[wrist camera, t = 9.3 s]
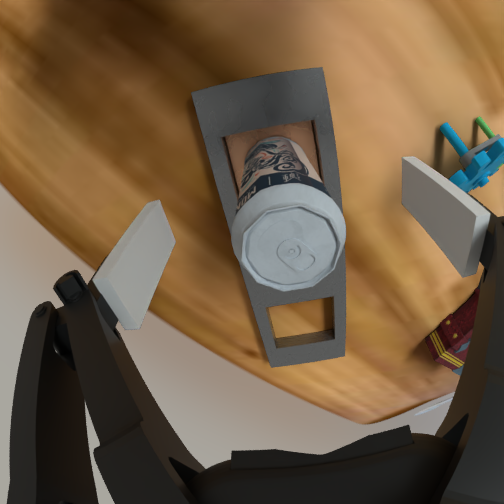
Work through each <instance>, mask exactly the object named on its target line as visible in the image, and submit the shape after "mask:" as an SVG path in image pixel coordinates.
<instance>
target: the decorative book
mask: <svg viewBox="0 0 504 504" xmlns="http://www.w3.org/2000/svg"><path fill="white" fill-rule="evenodd" d="M477 288H478V287H477ZM477 288H476V289H475V292H476V293H475V294H474V295H473V296H472V297H471V298H470V299H469V300H468V301H467V302H466V303H465V304H464V305H463V306H462V307H460V308H459V309H458V310H457V311H456V312H455V313H454V314H453V315H452V314H450V315H448V316H447V317H446V318H445V319H444V320H443V321H442V322H441V323H440V325H441V326H440V327H439V328H437V329H436V330H435V331H434V332H433V333H432V334H430V335H429V336H428V337H427V338H426V339H425V341H426V343H427V345H428V347H429V349H430V352H431V354H432V356H433V359H434V361H436V362H438V363H440V364H442V365H444V366H446V367H448V368H450V369H452V371H453V372H454V373H456V374H458V375H460V376H461V373H462V370H463V366H464V363H465V359H466V356H467V352H468V348H469V344H470V340H471V336H472V331H473V327H474V322H475V317H476V312H477V306H478V300H479V293H480V289H479V290H478V289H477Z"/></svg>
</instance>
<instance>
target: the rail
mask: <svg viewBox="0 0 504 504" xmlns="http://www.w3.org/2000/svg"><path fill="white" fill-rule="evenodd" d="M191 94H192V98H193V102H194V105H195V109H196V113H197V117H198V120H199V124H200V128H201V131H202V135H203V138H204V142H205V146H206V149H207V153H208V156H209V160H210V164H211V167H212V171H213V174H214V178H215V181H216V185H217V188H218V192H219V195H220V199H221V202H222V206H223V209H224V213H225V216H226V220H227V223H228V227H229V230H230V234H231V235H232V226H233V222H234V219H235V215H236V209H237V204H238V198H239V193H238V189H239V192H240V187H241V182H242V176H243V171H244V162H245V158H246V155H247V153H248V152H249V151H250V149H251V148H252V147H253V146H254V145H255V144H256V143H257V142H259V141H261V140H263V139H265V138H269V137H284V138H287V139H290V140H292V141H294V142H295V143H297V144H298V145H299V146H300V147H301V148H302V149H303V151H304V153H305V154H306V157H307V158H308V160H309V162H310V163H311V165H312V166H313V168H314V169H315V171H316V173H317V174H318V176H319V169H320V176H319V178H320V177H321V181H322V183H323V184H324V186H325V188H326V189H327V191H328V193H329V194H330V196H331V198H332V199H333V201H334V202H335V203H336V205H337V206H338V207H339V209H340V211H341V213H342V215H343V210H342V198H341V187H340V177H339V168H338V159H337V151H336V144H335V136H334V130H333V123H332V116H331V110H330V104H329V99H328V93H327V88H326V82H325V77H324V72H323V68H322V67H319V68H310V69H301V70H294V71H286V72H280V73H274V74H268V75H262V76H257V77H252V78H247V79H242V80H238V81H233V82H229V83H225V84H221V85H217V86H213V87H209V88H205V89H202V90H198V91H195V92H191ZM311 120H312V124H313V130H314V136H315V142H314V136H313V130H312V124H311ZM224 136H225V138H226V142H227V146H228V150H229V154H230V158H231V162H232V166H233V169H232V166H231V162H230V158H229V154H228V150H227V146H226V142H225V138H224ZM315 143H316V148H315ZM316 149H317V155H316ZM317 156H318V162H319V169H318V162H317ZM233 170H234V173H233ZM234 174H235V177H234ZM235 178H236V181H237V185H238V189H237V185H236V181H235ZM239 264H240V262H239ZM240 268H241V271H242V274H243V278H244V281H245V284H246V288H247V291H248V294H249V298H250V301H251V304H252V307H253V311H254V314H255V317H256V321H257V324H258V327H259V330H260V334H261V337H262V340H263V343H264V347H265V350H266V353H267V356H268V359H269V363H270V366H271V368H272V367H281V366H288V365H295V364H302V363H309V362H315V361H321V360H327V359H332V358H338V357H343V356H345V338H346V267H345V243H344V246H343V249H342V252H341V254H340V256H339V258H338V261H337V263H336V266H335V269H334V270H333V271H332V272H331V273H329V274H328V275H327V276H326V277H324V278H323V279H322V280H321V281H319V282H318V283H317V284H315V285H314V286H313V287H309V288H303V289H297V290H291V291H285V292H283V291H280V290H277V289H274V288H271V287H269V286H266V285H263V284H260V283H257V282H256V280H255V279H254V278H253V276H252V275H251V274H250V273H249V272H248V271H247V270H246V269H245V268H244V267H243V266H242V265H241V264H240ZM326 297H332V321H333V329H332V330H327V331H321V332H315V333H309V334H303V335H297V336H290V337H283V338H276V337H275V334H274V330H273V326H272V322H271V318H270V314H269V310H268V307H271V306H278V305H284V304H291V303H297V302H303V301H309V300H315V299H320V298H326Z"/></svg>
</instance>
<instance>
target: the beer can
mask: <svg viewBox="0 0 504 504" xmlns="http://www.w3.org/2000/svg"><path fill="white" fill-rule="evenodd" d="M345 239H346V225H345V220H344V217H343V215H342V213H341V211H340V209H339V207H338V206H337V205H336V203H335V202H334V201H333V199H332V198H331V196H330V194H329V193H328V191H327V189H326V188H325V186H324V184H323V183H322V181H321V179H320V178H319V176H318V174H317V173H316V171H315V169H314V168H313V166H312V165H311V163H310V162H309V160H308V158H307V157H306V154H305V153H304V151H303V149H302V148H301V147H300V146H299V145H298V144H297V143H295V142H294V141H292V140H290V139H287V138H284V137H269V138H265V139H263V140H261V141H259V142H257V143H256V144H255V145H254V146H253V147H252V148H251V149H250V151H249V152H248V153H247V155H246V158H245V162H244V171H243V176H242V182H241V187H240V192H239V198H238V204H237V209H236V215H235V219H234V222H233V226H232V235H231V242H232V246H233V250H234V253H235V255H236V257H237V259H238V261H239V262H240V264H241V265H242V266H243V267H244V268H245V269H246V270H247V271H248V272H249V273H250V274H251V275H252V276H253V278H254V279H255V280H256V282H257V283H260V284H263V285H266V286H269V287H271V288H274V289H277V290H280V291H283V292H285V291H291V290H297V289H303V288H309V287H313V286H314V285H315V284H317V283H318V282H319V281H321V280H322V279H323V278H324V277H326V276H327V275H328V274H329V273H331V272H332V271H333V270H334V269H335V266H336V263H337V261H338V258H339V256H340V254H341V252H342V249H343V246H344V243H345Z"/></svg>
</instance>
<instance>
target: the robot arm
mask: <svg viewBox="0 0 504 504" xmlns="http://www.w3.org/2000/svg"><path fill="white" fill-rule="evenodd" d="M402 204H403V206H404V207H405V208H406V209H407V210H408V211H409V212H410V213H411V214H412V215H413V217H414V218H415V219H416V220H417V221H418V222H419V223H420V225H421V226H422V227H423V228H424V229H425V230H426V232H427V233H428V234H429V235H430V236H431V238H432V239H433V240H434V241H435V242H436V244H437V245H438V246H439V247H440V249H441V250H442V251H443V252H444V254H445V255H446V256H447V258H448V259H449V260H450V261H451V263H452V264H453V265H454V267H455V268H456V269H457V271H458V272H459V274H460V275H461V276H462V278H463V277H467V276H470V275H474V274H476V272H477V268H478V265H479V261H480V262H481V264H482V265H483V266H484V270H483V273H482V276H481V279H480V282H479V285H478V288H477V289H478V290H479V289H480V293H479V300H478V306H477V312H476V317H475V322H474V327H473V331H472V336H471V340H470V344H469V348H468V352H467V356H466V359H465V363H464V366H463V370H462V373H461V376H460V379H459V382H458V385H457V388H456V391H455V394H454V397H453V400H452V402H451V405H450V408H449V410H448V413H447V415H446V417H445V419H444V421H443V422H442V424H441V426H440V427H439V429H438V431H437V432H436V434H435V436H434V435H429V434H420V433H411V431H410V427H409V425H406V426H403V427H399V428H396V429H393V430H388V431H385V432H381V433H377V434H373V435H368V436H366V437H364V438H362V439H360V440H358V441H355V442H353V443H351V444H349V445H346V446H344V447H342V448H340V449H337V450H335V451H332V452H329V453H327V454H323V455H316V454H306V453H298V452H290V451H283V450H276V449H271V450H248V451H247V450H246V451H232V453H231V460H227V461H224V462H221V463H218V464H216V465H214V466H211V467H209V468H208V469H205V468H204V467H203V466H202V465H201V464H200V463H199V462H198V461H197V460H196V459H195V458H194V457H193V456H192V455H191V454H190V452H189V451H188V450H187V448H186V447H185V446H184V444H183V443H182V441H181V440H180V438H179V437H178V435H177V434H176V433H175V431H174V429H173V428H172V426H171V425H170V423H169V422H168V420H167V419H166V417H165V416H164V414H163V413H162V411H161V409H160V408H159V406H158V404H157V403H156V401H155V399H154V398H153V396H152V394H151V392H150V391H149V389H148V387H147V385H146V384H145V382H144V380H143V379H142V376H141V375H140V373H139V371H138V369H137V367H136V365H135V363H134V361H133V360H132V358H131V356H130V354H129V352H128V350H127V348H126V346H125V343H124V341H123V339H122V337H121V335H120V333H119V332H118V330H117V329H116V324H117V322H118V320H119V322H120V323H121V325H122V326H123V328H124V329H125V330H133V329H134V330H135V329H140V327H141V325H142V322H143V320H144V317H145V314H146V312H147V309H148V307H149V304H150V302H151V299H152V297H153V294H154V292H155V289H156V287H157V285H158V282H159V280H160V277H161V275H162V273H163V270H164V268H165V266H166V263H167V261H168V259H169V257H170V254H171V252H172V250H173V248H174V245H175V243H176V241H175V238H174V236H173V233H172V231H171V228H170V226H169V223H168V221H167V218H166V215H165V213H164V210H163V208H162V205H161V202H160V200H156V201H152V202H148V203H147V204H146V205H145V206H144V208H143V209H142V210H141V212H140V213H139V214H138V216H137V217H136V218H135V219H134V221H133V222H132V223H131V225H130V226H129V227H128V229H127V230H126V231H125V233H124V234H123V236H122V237H121V238H120V240H119V241H118V243H117V244H116V245H115V247H114V248H113V250H112V251H111V252H110V254H109V255H108V256H107V257H106V258H105V259H104V260H103V262H102V263H101V266H99V268H98V269H97V272H95V274H94V275H93V277H92V278H91V280H90V281H89V283H88V285H87V284H86V283H85V281H84V280H83V278H82V276H81V275H80V273H79V272H78V271H77V270H73V271H70V272H68V273H66V274H64V275H63V276H62V277H60V278H59V279H58V281H57V282H56V283H55V285H54V288H53V289H54V291H55V292H56V294H57V295H58V297H59V298H60V300H61V301H62V302H63V304H64V306H62V307H60V308H57V309H55V307H54V306H53V304H52V303H51V302H50V301H47V302H44V303H42V304H39V305H38V307H36V308H35V310H34V311H33V313H32V315H31V318H30V321H29V325H28V328H27V332H26V336H25V340H24V344H23V349H22V353H21V358H20V362H19V367H18V373H17V378H16V384H15V391H14V399H13V406H12V416H11V429H10V484H9V491H8V499H7V504H99V503H98V498H97V492H96V487H95V482H94V477H93V471H92V465H91V459H90V452H89V445H88V437H87V427H86V415H85V402H86V405H87V408H88V411H89V414H90V417H91V420H92V423H93V426H94V428H95V431H96V434H97V436H98V439H99V442H100V446H99V447H96V448H95V449H94V452H93V454H94V458H95V461H96V464H97V466H98V469H99V471H100V473H101V475H102V478H103V480H104V482H105V484H106V486H107V489H108V491H109V493H110V495H111V497H112V499H113V501H114V503H115V504H504V216H501V217H497V216H496V215H495V214H493V213H492V212H491V211H490V210H489V209H488V208H486V207H485V206H483V204H482V203H480V202H478V200H477V199H476V198H474V197H473V196H472V195H470V194H468V193H466V192H464V191H463V190H461V189H460V188H459V187H457V186H456V185H455V184H453V183H452V182H451V181H449V180H448V179H447V178H445V177H444V176H442V175H441V174H440V173H438V172H437V171H435V170H434V169H432V168H431V167H429V166H428V165H426V164H425V163H423V162H422V161H420V160H419V159H417V158H416V157H414V156H410V157H402ZM55 350H56V351H57V353H56V351H55Z"/></svg>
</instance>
